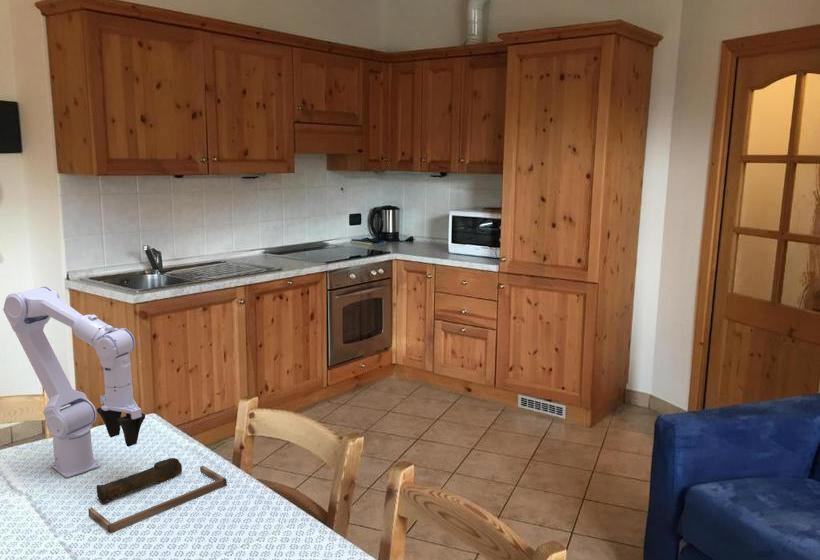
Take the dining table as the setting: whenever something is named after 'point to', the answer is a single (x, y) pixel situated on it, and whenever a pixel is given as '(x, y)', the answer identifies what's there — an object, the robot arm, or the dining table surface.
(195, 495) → the tool bay
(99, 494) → the hand tool
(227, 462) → the dining table surface
